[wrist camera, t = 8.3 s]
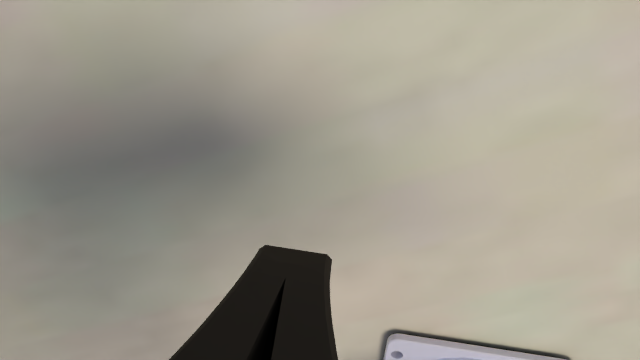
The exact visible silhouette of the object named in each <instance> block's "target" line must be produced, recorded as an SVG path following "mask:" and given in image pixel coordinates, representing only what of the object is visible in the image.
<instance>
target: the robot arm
mask: <svg viewBox="0 0 640 360" xmlns="http://www.w3.org/2000/svg"><path fill="white" fill-rule="evenodd" d="M331 264H332V259H331V258H330V257H329V256H328V255H327V254H321V253H314V252H308V251H301V250H295V249H288V248H282V247H275V246H269V245H265V246H263V247H262V248H260V249H259V251H258V252H257V254H256V255H255V257H254V258H253V260H252V261H251V263H250V264H249V266H248V267H247V269H246V270H245V271H244V273H243V274H242V276H241V277H240V278H239V280H238V281H237V282H236V283H235V285H234V286H233V287H232V289H231V290H230V291H229V293H228V294H227V295H226V296H225V298H224V299H223V300H222V301H221V302H220V304H219V305H218V306H217V307H216V308H215V310H214V311H213V312H212V313H211V314H210V315H209V317H208V318H207V319H206V320H205V321H204V323H203V324H202V325H201V326H200V327H199V328H198V329H197V331H196V332H195V333H194V334H193V335H192V336H191V337H190V338H189V339H188V340H187V341H186V342H185V343H184V344H183V346H182V347H181V348H180V349H179V350H178V351H177V352H176V353H175V354H174V355H173V356H172V357H171V358H170V359H169V360H338V357H337V351H336V345H335V338H334V332H333V325H332V317H331V305H330V273H331ZM383 360H567V359H561V358H554V357H548V356H541V355H535V354H528V353H522V352H516V351H509V350H503V349H496V348H490V347H483V346H477V345H470V344H464V343H457V342H451V341H445V340H438V339H432V338H425V337H419V336H412V335H406V334H392V335H390V336H389V337H388V339H387V344H386V349H385V354H384V359H383Z"/></svg>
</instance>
